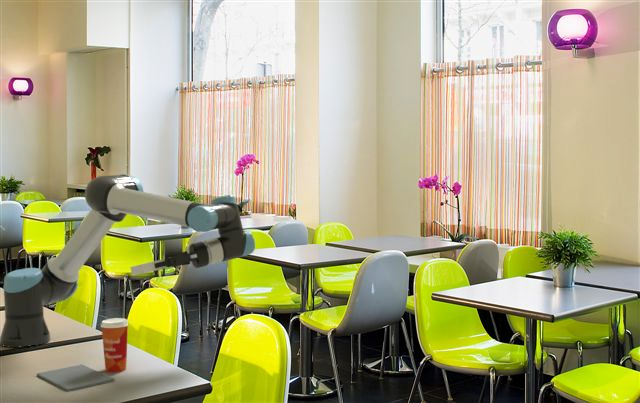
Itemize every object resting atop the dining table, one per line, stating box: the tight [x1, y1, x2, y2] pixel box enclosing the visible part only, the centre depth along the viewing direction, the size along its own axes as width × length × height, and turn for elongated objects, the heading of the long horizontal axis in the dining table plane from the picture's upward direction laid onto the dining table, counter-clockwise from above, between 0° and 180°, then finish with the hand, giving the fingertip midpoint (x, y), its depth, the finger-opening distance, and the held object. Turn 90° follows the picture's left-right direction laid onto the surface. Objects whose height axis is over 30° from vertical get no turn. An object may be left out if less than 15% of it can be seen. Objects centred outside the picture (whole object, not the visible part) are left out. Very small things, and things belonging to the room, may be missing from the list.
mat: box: [36, 364, 116, 392], centre depth 209 cm, size 20×13×1 cm, turn 42°
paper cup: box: [100, 317, 129, 373], centre depth 216 cm, size 8×8×14 cm
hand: (136, 270), depth 223 cm, fingers open, 13 cm apart
